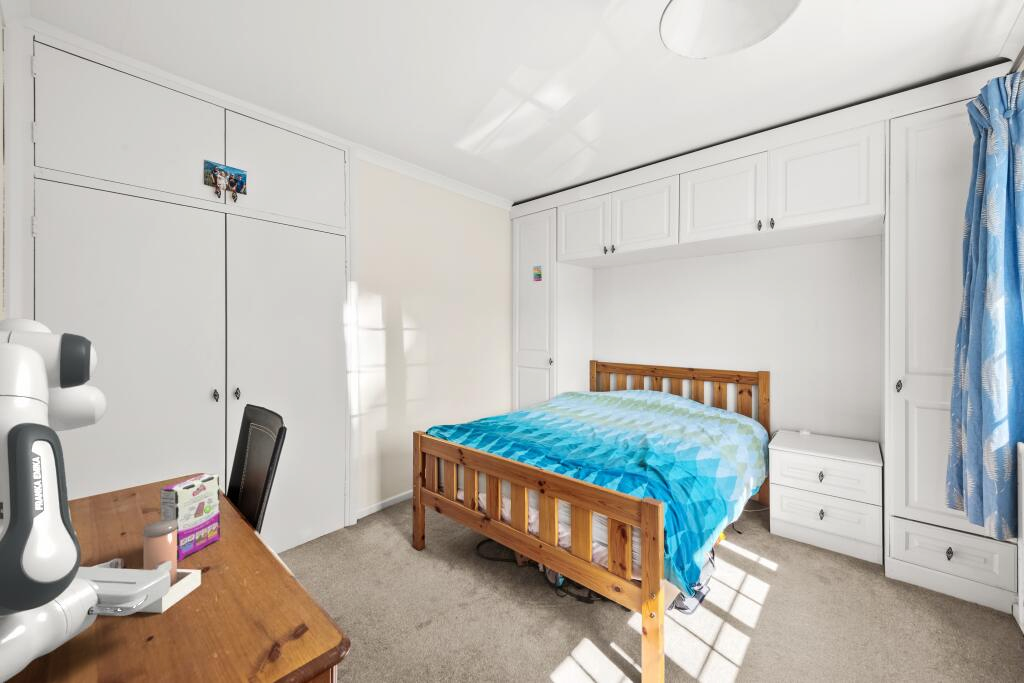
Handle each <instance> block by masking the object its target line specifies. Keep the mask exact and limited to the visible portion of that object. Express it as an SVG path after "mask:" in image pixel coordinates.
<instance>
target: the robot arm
mask: <svg viewBox="0 0 1024 683" xmlns="http://www.w3.org/2000/svg"><path fill="white" fill-rule="evenodd" d="M97 365H98V354H97V352H96V349H95V347H94V346H93V345H92V341H91V340H89V339H88V338H86V337H85V336H83V335H79V334H74V333H69V332H68V333H67V332H64V333H62V334H61V333H53V331H52V330H51V328H49V327H48V326H46V325H45V324H44V323H42V322H39V321H38V320H33V319H30V318H20V317H18V318H17V317H15V318H7V319H3V320H0V683H5V682H7V681H8V680H10V679H11V678H13V677H14V676H16V675H17V674H19V673H20V672H22V671H23V670H24V669H25V668H26V667H27V666H28V665H30V663H32V661H34V660H35V659H38V658H39V657H42V656H45V655H47V654H49V653H51V652H53V651H55V650H56V649H57V648H59V647H60V646H62V645H64V644H65V643H67V642H68V641H71V639H73V638H75V637H76V636H78V635H79V634H81V633H82V632H84V631H85V630H87V629H88V628H89V627H91V626H92V625H93V624H94V622H95V621H96V619H97V617H98V616H111V617H114V616H115V617H123V616H128V615H132V614H135V613H136V612H137V611H139V610H141V609H143V608H144V607H146V606H148V605H150V604H151V603H153V602H155V601H157V600H158V599H160V598H161V597H163V596H165V595H166V594H167V593H168V592H169V590H170V572H169V571H170V570H171V568H172V562H171V561H162V562H160V563H158V564H156V569H157V570H155V569H154V570H144V569H138V568H137V569H134V568H133V569H132V568H124V567H125V559H124V558H113V559H111V560H109V561H107V562H104V563H100V564H96V565H93V566H81V562H82V549H81V545H80V542H79V540H78V537H77V532H76V531H75V529H74V527H73V524H72V518H71V510H70V507H69V499H68V498H69V497H68V495H69V492H68V487H67V479H66V478H67V477H66V467H65V458H64V453H63V447H62V444H61V440H60V437H59V436H58V434H57V432H62V431H71V430H76V429H81V428H83V427H84V428H85V427H88V426H92V425H96V424H97V423H98V422H100V420H101V419H102V418H103V417H104V416H105V414H106V411H107V407H108V401H107V397H106V395H105V394H104V392H103V391H102V390H101V389H100V388H98V387H96V386H93V385H89V384H86V383H87V382H88V381H90V380H91V377H92V376H93V375H94V373H95V371H96V368H97Z"/></svg>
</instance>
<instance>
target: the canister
mask: <svg viewBox="0 0 1024 683" xmlns="http://www.w3.org/2000/svg"><path fill="white" fill-rule="evenodd" d="M177 528H178V522H177V521H176V520H164V521H161V520H159V521H156V522H152V523H149V524H147V525H146V526H144V527H143V528H142V536H143V570H154V569H155V570H157V569H156V564H158V563H160V562H162V561H171V562H172V568H171V570H170V571H169V572H170V587H172V586H173V585H175V584H176V583H177V569H178V562H177Z"/></svg>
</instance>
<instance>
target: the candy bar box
mask: <svg viewBox="0 0 1024 683" xmlns="http://www.w3.org/2000/svg"><path fill="white" fill-rule="evenodd" d="M220 512H221V511H220V475H219V474H211V473H203V474H199V475H197V476H194V477H191V478H188V479H186V480H183V481H180V482H178V483H175V484H172V485H169V486H165V487H163V488H161V489H160V521H164V520H176V521H177V522H178V528H177V563H178V562H180V561H183V560H184V559H186V558H188V557H190V556H191V555H193V554H196V553H197V552H199V551H201V550H203V549H205V548H207V547H208V546H210V545H212V544H214V543H216V542H218V541H219V540H220V539H221V526H220V525H221V523H220V522H221V520H220V518H221V516H220ZM217 540H218V541H217Z"/></svg>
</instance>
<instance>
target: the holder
mask: <svg viewBox="0 0 1024 683" xmlns="http://www.w3.org/2000/svg"><path fill="white" fill-rule="evenodd" d="M201 585H202V570H201V569H191V568H190V569H189V568H188V569H185V568H183V569H182V568H177V583H176V584H175V585H173V586H172V587H170V590H169V592H168V593H167V594H166V595H165V596H163V597H161V598H160V599H158V600H157V601H155V602H153V603H151V604H150V605H148V606H146V607H144V608H143V609H141V610H139V611H137V612H140V613H154V614H155V613H156V614H158V613H159V614H163V613H164V612H165V611H167V610H168V609H169V608H171V607H172V606H174V605H175V604H177V602H179V601H180V600H182V599H184V598H185V597H186V596H188V594H190V593H191V592H193V591H194V590H195V589H197V588H198V587H200V586H201Z"/></svg>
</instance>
